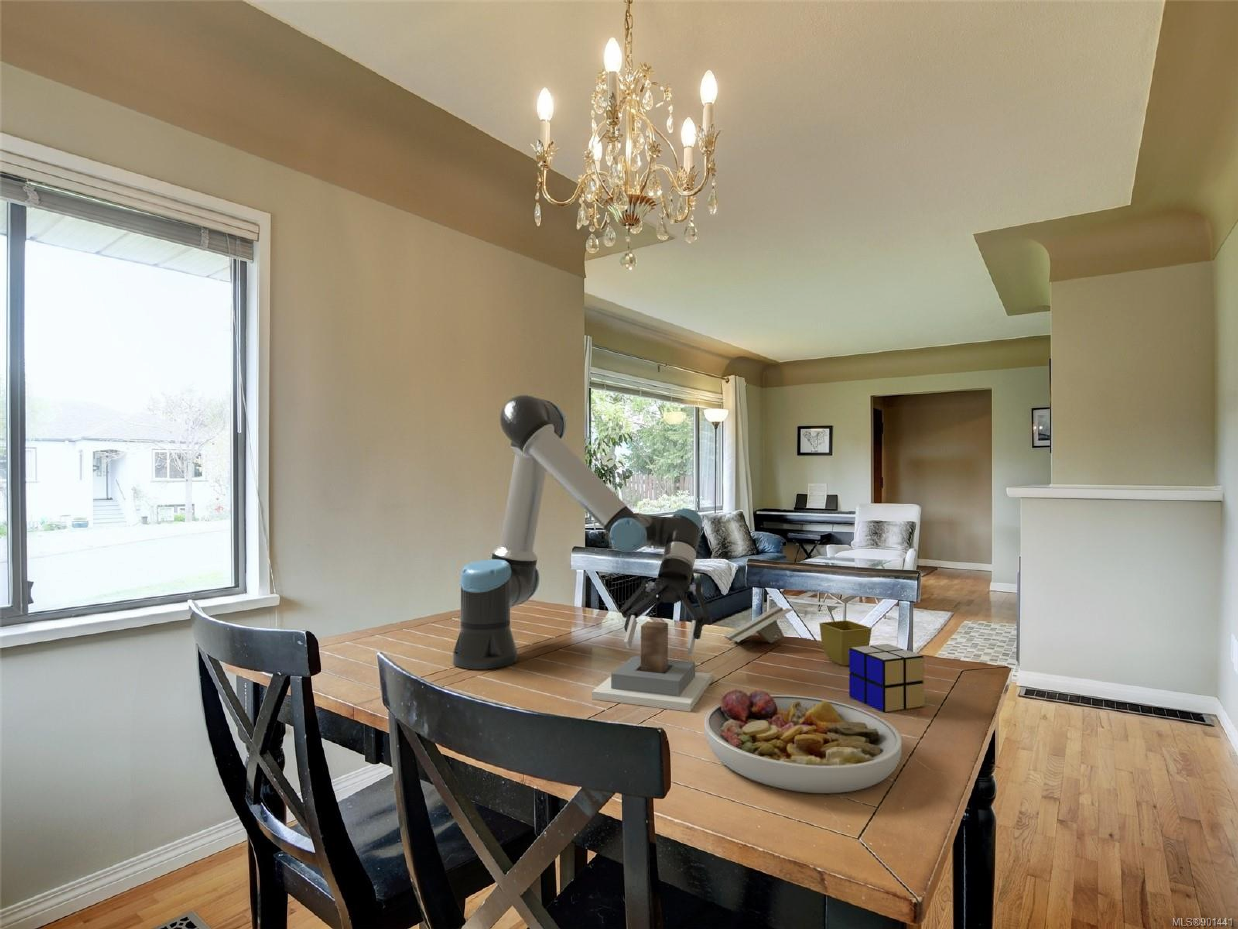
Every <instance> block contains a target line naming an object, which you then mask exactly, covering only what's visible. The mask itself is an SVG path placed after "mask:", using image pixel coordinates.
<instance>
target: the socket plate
mask: <svg viewBox="0 0 1238 929" xmlns="http://www.w3.org/2000/svg"><path fill="white" fill-rule="evenodd" d="M712 681H713V674H712V673H709V672H700V671H699V672H697V671H696V662H695V661H686V660H678V659H676V660H675V659H668V672H667V673H666V674H662V673H653V672H644V671H641V656H637V655H633V656H632V657H629V659H628V660H626V661H625V662H624V663H623V664H621V665H620V666H619V667H618V668H616V669H615V670H614V671H612V672H611V674H610V676H609V677H608V678H607V679H605V680H604V681H603V682H601V683H600V684H599V685H598V686H597V687H596V688H594V689H593V690H592V691H591V700H597V701H605V702H612V703H621V704H628V705H634V706H635V705H636V706H644V707H651V708H659V709H668V710H674V711H675V710H676V711H683V712H689V713H690V712H691V711H692V709H694V707H695V706H696V704H697V703H698V701H699V700H700V699H701V697H702V696H703V694H704V693H705V691H706V690H707V688H708V687H709V686H710V684H711V683H712Z"/></svg>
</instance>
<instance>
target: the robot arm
mask: <svg viewBox="0 0 1238 929" xmlns="http://www.w3.org/2000/svg"><path fill="white" fill-rule="evenodd" d="M499 416H500V417H499V421H500V426H501V429H502V431H503V432H504V434H505V436H506V437H507V438H508V439H509V440H510V442H511V443H510V449H511V451H513V453H514V461H513V464H512V466H513V467H512V472H511V478H510V484H509V490H508V494H507V495H508V496H507V502H506V506H505V507H506V508H505V514H504V519H503V526H502V532H501V536H500V543H499V545H498V547H496V548H495V549H493V550H492V554H491V559H483V560H477V561H471V562H469V563H467V564H466V565H465V566H463V568H462V570H461V573H460V574H461V575H460V576H461V578H460V581H459V582H460V583H459V584H460V585H459V586H460V630H459V634H458V637H457V639H456V643H455V646H454V649H453V652H452V664H453V665H454V666H456V667H458V668H461V669H466V670H492V669H499V668H504V667H508V666H510V665H513V664H514V663H516V662H517V661H518V648H517V645H516V642H515V638H514V635H513V633H512V629H511V608H514V607H515V606H520V605H522V604H524V603H525V602H527V601H528V600H529V599H530V598H532V597H533V596H534V595H535V593H536V592H537V590H538V587H539V585H540V574H539V570H538V568H537V562H538V556H537V555H536V553H535V552H534V544H535V538H536V534H537V528H538V523H539V517H540V516H539V515H540V509H541V506H542V505H541V504H542V497H543V494H544V487H545V481H546V475H547V474H546V473H547V472H548V474H549V475H550V476H552V479H554V480H555V481H556V482H557V483H558V484H559V485H560V487H562V488H563V489H564V490H565V491H566V492H567V493H568V494H569V495H570V496H571V498H573V499H574V500H575V501H576V502H577V504H579V505H580V506H581V508H583V510H584V511H585V512H587V513H588V515H589V516H590V517H591V518H592V519H593V520H594V521H595V522H596V523H597V524H598V525H599V526H600V527H601V528H602V529H603V530H604V531H605V532H606V534H608V536H609V538H610V539H609V540H610V542H611V544H612V546H613V547H614V548H615V549H616V550H617V551H619V552H623V553H629V552H630V553H632V552H633V553H634V552H637V551H639V550H640V549H642V548H644V547H646V546H647V547H656V548H658V547H659V548H664V550H663V555H662V558H661V562H660V565H659V570H658V573H657V578H656V580H655V581H654V582H652V581H649V580H648V579H647V578H644V579H643V580H642V582H641V583H640V586H639V587H638V589H636V591H635V592H634V593H633V594H632V595H631V596H630V597H629V599H628V600H627V601H626V602H624V604H623V605H622V606H621V608H620V610H619V611H620V613H621V615H622V618H623V619H625V623H624V626H623V629H624V631H625V636H624V640H623V642H624V644H625V647H626V649H631V647H632V644H633V641H634V637H635V632H636V629H637V625H638V621H637V619H638V618H640V616H642V615H643V614H645V613H646V612H647V611H648V610H650V609H651V608H653V607H654V606H655V605H658V604H660V603H661V602H662V603H664V604H665V603H672V604H677V603H679V602H680V603H681V605H682V606H683V607H684V609H685V610H686V611H687V612H688V614H689V615H690V616H691V618H692V620H691V623H690V624H691V625H690V629H689V633H688V637H687V638H688V639H687V642H686V650H687V652H688V655H691V656H693V653H694V648H695V643H696V640H700V639H701V636H702V630H703V627H704V626H706V625H707V626H711V625H712V624H713V621H712V617H711V614H710V611H709V609H708V607H707V606H708V605H707V604H706V601H705V598H704V594H703V593H704V589H703V585H702V583H701V582H700V581H699V582H698V581H697V582H696V583H695V584H691V582H692V577H693V576H692V575H693V569H694V566H695V561H696V557H697V553H698V552H697V551H698V547H699V545H700V544H699V542H700V540H701V536H702V526H703V519H702V516H701V515H700V513H699V512H697V511H695V510H693V509H691V508H685V507H683V508H681V509H677V510H676V511H674V513H673V515H672V516H660V515H653V514H652V515H651V514H643V513H639V512H634V511H632V509H630V508H629V507H628V505H627V504H626V503H625V502H624V501H623V500H622V499H621V498H620V497H619V496H618V495H617V494H616V493H615V492H614V491H613V490H612V489H611V488H610V487H609V486H608V485H607V484H606V483H605V482H604V481H603V480H602V479H601V478H600V477H599V476H598V475H597V474H596V473H595V472H594V471H593V470H592V469H591V468H590V467H589V466H588V465H587V464H586V463H585V462H584V461H583V460H582V459H581V458H580V457H579V456H578V454H576V453H575V452H574V451H573V450H572V449H571V448H570V446H569V445H567V444H566V443H565V442H564V441H563V440H562V439H563V437H564V435H565V432H566V427H567V423H566V417H565V415H564V413H563V411H562V410H561V408H559V406H557V405H556V404H555V403H554V402H552V401H550V400H546V399H542V398H539V397H538V398H537V397H535V396H531V395H528V394H522V395H521V394H519V395H516V396H514V397H512V398H510V399H509V400H508V401H507V402H505V403H504V405H503V407H502V408H501V412H500V415H499ZM691 592H692V593H693V595H694V596H696V598H697V602H698V604H699V607H700V610H701V612H702V615H703V616H702V615H700V613H699V612H698V611H697V609H696V608H695V607H694V605H693V604H692V602H691V601H690V599H689V598H688V597H687V595H689V594H690V593H691ZM648 593H649V595H648Z"/></svg>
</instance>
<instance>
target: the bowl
mask: <svg viewBox="0 0 1238 929" xmlns="http://www.w3.org/2000/svg"><path fill="white" fill-rule="evenodd" d="M749 694H750V695H749ZM749 694H747V692H744V691H743V690H739V689H733V690H731V691H728V692H727V693H726V694H724V695H723V696H722V697H721V699H720V701H721V702H720V704H717V705H716V706H715V707H713V708H712V709H710V710H709V711H708V712H707V713H706V716H705V718H704V735H705V739H706V742H707V744H708V746H709V749H711V751H712V752H713V754H714V755H715V757H717V758H718V760H719V761H720V762H721V763H723V765H725V766H726V767H728V768H729V769H731V770H732V771H733V772H736V773H737V774H739V775H741V776H742V777H745V778H747V779H749V780H752V781H753V782H757V783H760V784H762V785H766V786H769V787H773V788H778V789H782V790H786V791H787V790H788V791H793V792H799V793H807V794H808V793H809V794H811V793H812V794H840V793H849V792H856V791H859V790H863V789H867V788H869V787H872V786H874V785H876V784H878V783H880V782H882V781H884V780H885V779H886V778H888V777H889V776H890V775H891V774H892V773H893V772H894V771H895V769H896V768H897V766H898V765H899V762H900V760H901V757H902V751H903V744H902V743H903V741H902V737H901V734H900V733H899V731H898V730H897V728H895V727H894V726H893V725H892V724H891V723H889V722H888V721H887V720H885V719H883V718H882V717H879V715H876V714H874V713H872V712H869V711H868V710H864V709H862V708H858V707H856V706H853V705H851V704H846V703H842V702H838V701H833V700H829V699H824V698H823V699H822V698H818V697H817V698H816V697H812V696H811V697H810V696H802V695H787V694H770V693H768V692H767V691H764V690H754V691H752V692H751V693H749Z"/></svg>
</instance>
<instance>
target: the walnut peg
mask: <svg viewBox="0 0 1238 929" xmlns="http://www.w3.org/2000/svg"><path fill="white" fill-rule="evenodd" d="M668 640H669V622H660V621H650V620H648V621H646V622H645V623H643V624H642V625H640V657H641V671H644V672H653V673H662V674H666V673H667V672H668V660H669V659H668V658H669V641H668Z"/></svg>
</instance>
